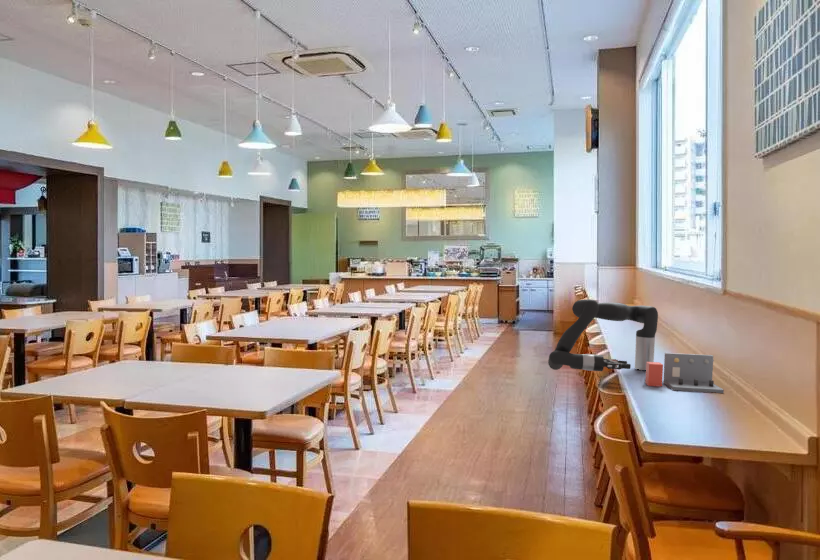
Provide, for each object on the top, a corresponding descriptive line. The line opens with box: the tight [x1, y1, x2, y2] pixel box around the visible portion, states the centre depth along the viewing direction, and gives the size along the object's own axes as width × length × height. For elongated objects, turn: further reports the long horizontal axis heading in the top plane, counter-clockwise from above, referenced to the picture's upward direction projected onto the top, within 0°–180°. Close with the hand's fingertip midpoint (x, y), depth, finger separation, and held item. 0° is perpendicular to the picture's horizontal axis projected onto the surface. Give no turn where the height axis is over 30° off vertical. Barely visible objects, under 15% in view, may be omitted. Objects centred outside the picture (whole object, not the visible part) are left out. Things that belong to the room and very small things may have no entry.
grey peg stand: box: [662, 352, 725, 394], centre depth 284 cm, size 17×21×14 cm
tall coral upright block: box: [644, 361, 664, 387], centre depth 288 cm, size 6×6×10 cm
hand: (628, 364), depth 289 cm, fingers open, 8 cm apart
